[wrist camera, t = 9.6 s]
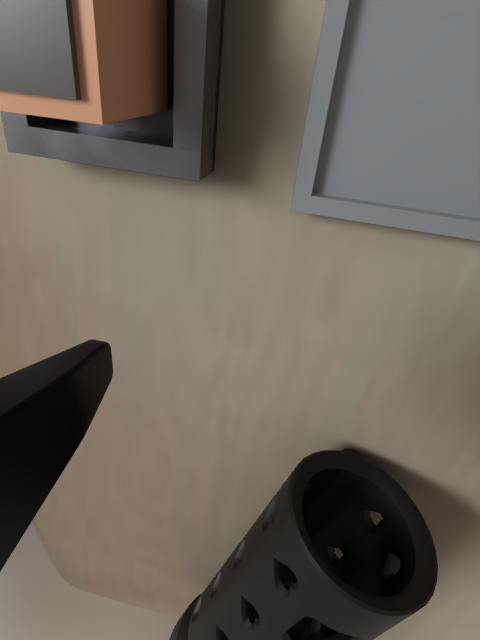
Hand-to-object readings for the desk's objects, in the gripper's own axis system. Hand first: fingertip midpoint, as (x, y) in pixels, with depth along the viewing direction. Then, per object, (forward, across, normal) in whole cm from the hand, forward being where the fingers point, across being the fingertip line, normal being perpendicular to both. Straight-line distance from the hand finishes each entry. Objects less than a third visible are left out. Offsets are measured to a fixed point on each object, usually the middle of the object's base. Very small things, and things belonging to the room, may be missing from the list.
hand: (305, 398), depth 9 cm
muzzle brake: (+13, -2, +28) cm, 31 cm away
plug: (+12, +10, -6) cm, 17 cm away
